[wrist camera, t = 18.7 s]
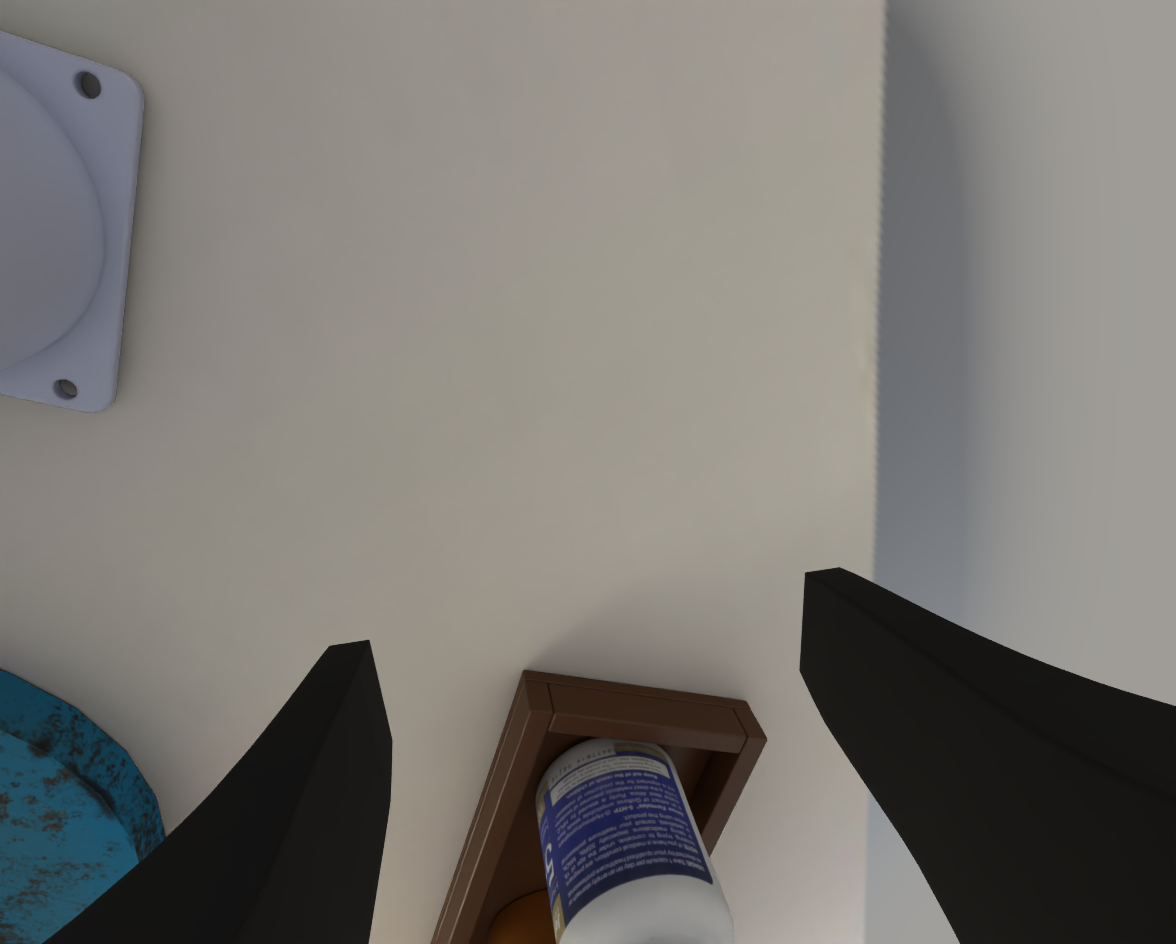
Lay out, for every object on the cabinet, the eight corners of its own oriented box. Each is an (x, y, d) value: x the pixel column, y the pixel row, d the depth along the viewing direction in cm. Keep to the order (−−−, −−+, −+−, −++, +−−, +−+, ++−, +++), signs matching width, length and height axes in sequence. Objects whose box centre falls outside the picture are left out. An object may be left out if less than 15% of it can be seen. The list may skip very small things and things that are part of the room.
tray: (377, 1099, 32) (373, 1155, 31) (523, 669, 25) (529, 710, 23) (561, 1093, 35) (568, 1144, 33) (746, 700, 27) (768, 739, 25)
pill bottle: (505, 779, 26) (536, 1062, 18) (634, 704, 26) (724, 958, 18) (579, 860, 28) (636, 1142, 20) (697, 792, 28) (803, 1050, 20)
